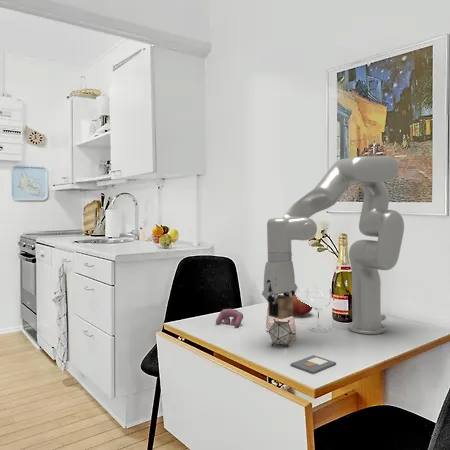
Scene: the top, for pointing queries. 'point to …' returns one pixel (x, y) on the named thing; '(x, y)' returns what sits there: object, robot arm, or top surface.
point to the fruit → (300, 307)
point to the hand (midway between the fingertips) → (280, 313)
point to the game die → (280, 332)
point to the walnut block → (283, 307)
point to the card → (313, 364)
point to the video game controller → (230, 313)
